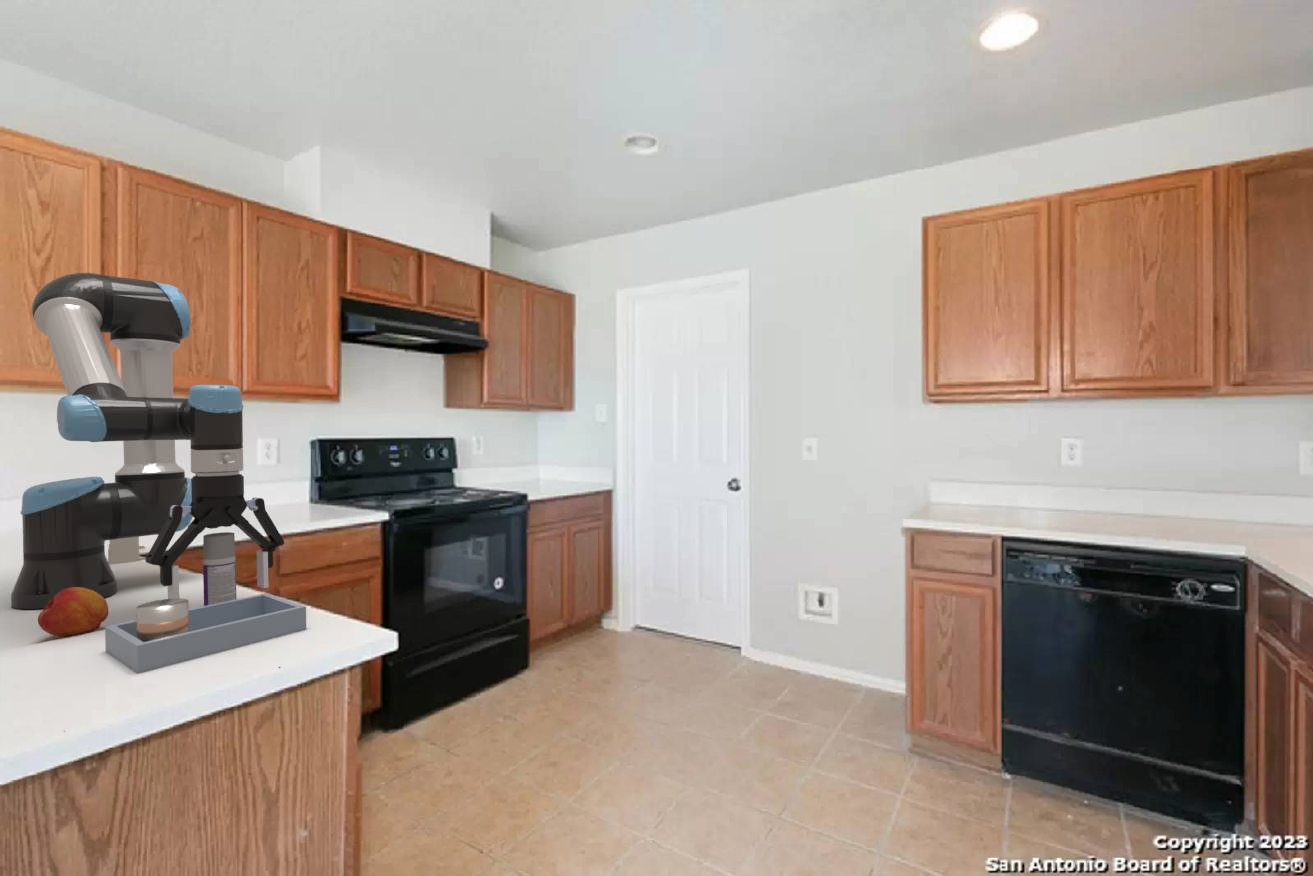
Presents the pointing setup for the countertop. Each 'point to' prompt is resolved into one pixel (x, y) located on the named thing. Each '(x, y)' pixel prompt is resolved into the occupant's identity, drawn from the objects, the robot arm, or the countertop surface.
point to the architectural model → (124, 550)
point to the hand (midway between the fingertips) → (220, 595)
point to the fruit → (73, 612)
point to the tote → (208, 632)
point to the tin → (162, 619)
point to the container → (219, 568)
